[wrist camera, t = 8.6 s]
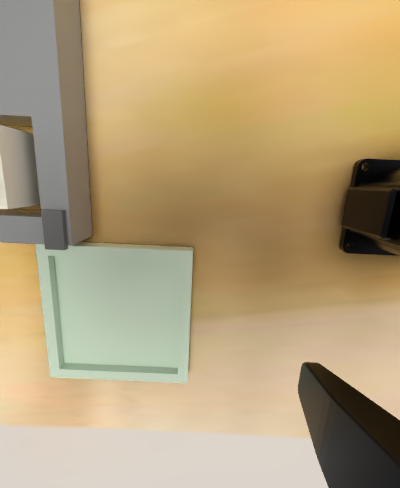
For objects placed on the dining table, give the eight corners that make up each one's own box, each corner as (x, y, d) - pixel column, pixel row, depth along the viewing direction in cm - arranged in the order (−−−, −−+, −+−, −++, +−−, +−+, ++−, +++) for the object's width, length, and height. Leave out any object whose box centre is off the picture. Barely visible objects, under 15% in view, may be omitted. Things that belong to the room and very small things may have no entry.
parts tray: (193, 247, 19) (192, 251, 17) (188, 372, 21) (187, 383, 20) (45, 240, 18) (35, 244, 17) (58, 366, 21) (50, 377, 20)
